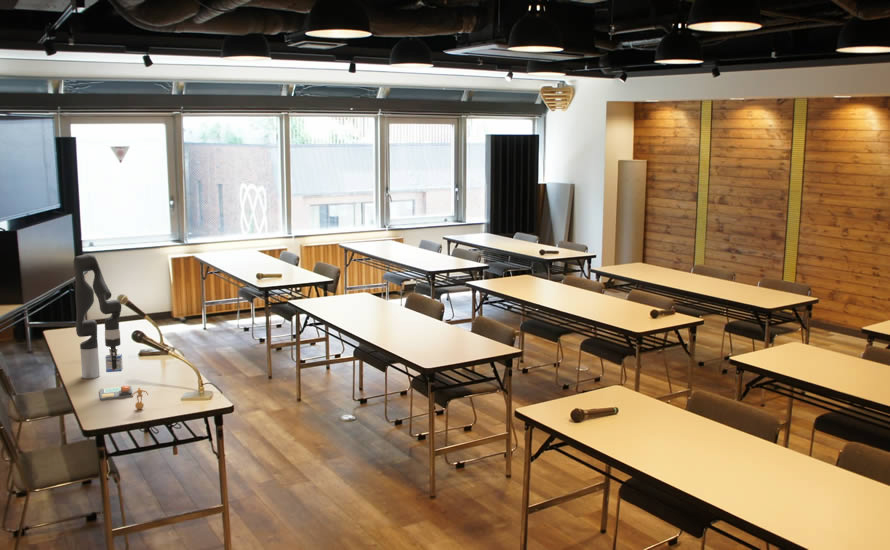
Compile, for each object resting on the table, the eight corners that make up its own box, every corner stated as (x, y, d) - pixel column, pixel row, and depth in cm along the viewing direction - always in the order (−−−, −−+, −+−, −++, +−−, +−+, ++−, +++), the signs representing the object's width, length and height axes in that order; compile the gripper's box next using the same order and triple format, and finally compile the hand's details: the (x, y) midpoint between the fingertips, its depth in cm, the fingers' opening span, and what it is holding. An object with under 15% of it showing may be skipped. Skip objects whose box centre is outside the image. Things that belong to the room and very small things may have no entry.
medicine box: (106, 372, 418) (105, 356, 417) (107, 370, 422) (106, 354, 421) (121, 371, 420) (120, 355, 419) (122, 369, 425) (121, 353, 423)
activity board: (99, 390, 424) (99, 387, 424) (131, 387, 431) (131, 384, 430) (100, 400, 409) (100, 396, 409) (133, 396, 416) (132, 393, 415)
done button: (120, 389, 418) (120, 386, 418) (129, 388, 420) (129, 385, 420) (121, 391, 414) (121, 388, 414) (130, 390, 416) (129, 387, 416)
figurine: (147, 406, 401) (146, 384, 399) (150, 410, 396) (148, 387, 394) (130, 409, 396) (129, 386, 394) (132, 413, 391) (131, 390, 389)
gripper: (104, 334, 423) (106, 364, 426) (105, 340, 410) (107, 371, 413) (119, 333, 426) (121, 363, 429) (120, 339, 413) (122, 370, 416)
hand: (114, 367), depth 421 cm, fingers closed on medicine box, 5 cm apart
